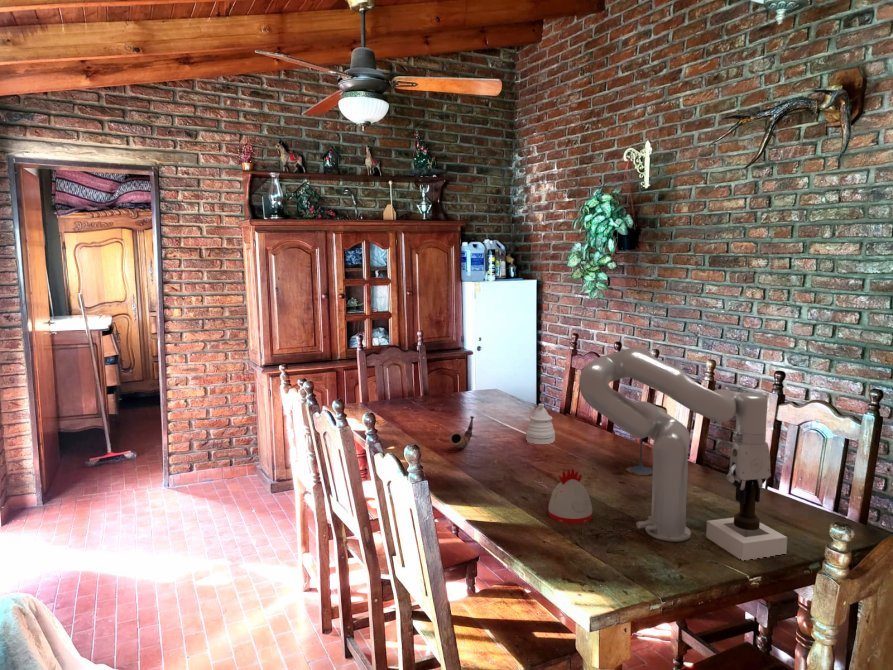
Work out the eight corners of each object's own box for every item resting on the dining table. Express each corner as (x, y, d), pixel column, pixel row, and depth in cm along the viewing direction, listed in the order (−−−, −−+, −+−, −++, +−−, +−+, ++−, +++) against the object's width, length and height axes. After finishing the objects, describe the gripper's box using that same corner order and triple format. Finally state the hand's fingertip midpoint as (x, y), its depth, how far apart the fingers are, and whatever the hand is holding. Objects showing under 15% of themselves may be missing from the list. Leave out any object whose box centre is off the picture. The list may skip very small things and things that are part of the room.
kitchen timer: (540, 510, 201) (540, 465, 199) (576, 503, 206) (576, 460, 205) (563, 526, 188) (564, 479, 187) (601, 519, 193) (602, 473, 192)
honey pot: (557, 446, 270) (557, 406, 268) (527, 447, 270) (528, 406, 268) (552, 438, 283) (552, 400, 281) (524, 438, 283) (524, 400, 281)
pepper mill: (737, 519, 178) (740, 458, 176) (761, 524, 174) (765, 462, 172) (730, 526, 173) (733, 464, 171) (756, 532, 169) (759, 469, 167)
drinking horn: (448, 454, 260) (448, 431, 259) (466, 436, 288) (466, 415, 287) (461, 455, 259) (461, 432, 258) (478, 437, 287) (478, 415, 285)
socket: (742, 561, 166) (743, 543, 165) (706, 537, 180) (706, 520, 180) (786, 554, 169) (787, 537, 169) (747, 531, 184) (748, 515, 183)
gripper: (733, 443, 165) (731, 509, 167) (786, 438, 169) (782, 503, 171) (715, 436, 173) (712, 499, 175) (765, 431, 177) (762, 493, 179)
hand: (747, 500), depth 173 cm, fingers closed on pepper mill, 3 cm apart
